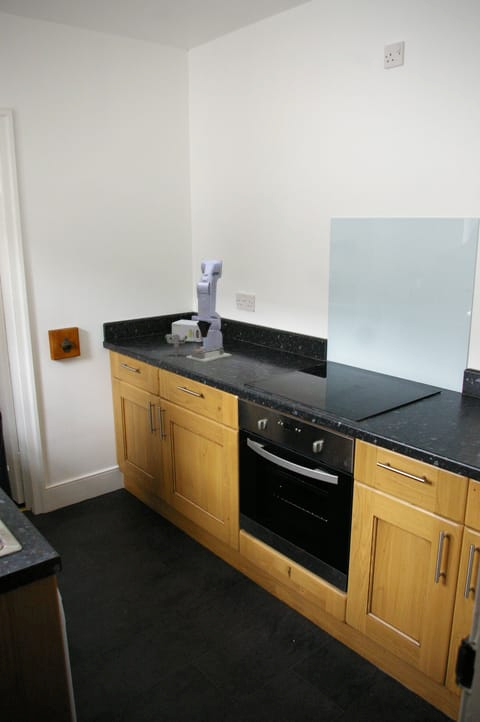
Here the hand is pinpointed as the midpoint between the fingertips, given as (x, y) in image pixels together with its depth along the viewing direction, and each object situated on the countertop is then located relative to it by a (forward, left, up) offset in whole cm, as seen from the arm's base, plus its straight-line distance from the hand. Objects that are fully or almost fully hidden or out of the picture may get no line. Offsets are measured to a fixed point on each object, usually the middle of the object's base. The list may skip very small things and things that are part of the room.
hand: (204, 337), depth 273 cm
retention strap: (-1, +1, -6) cm, 7 cm away
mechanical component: (+7, -12, -10) cm, 17 cm away
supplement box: (-27, -38, -10) cm, 48 cm away
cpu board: (-2, +1, -10) cm, 10 cm away
